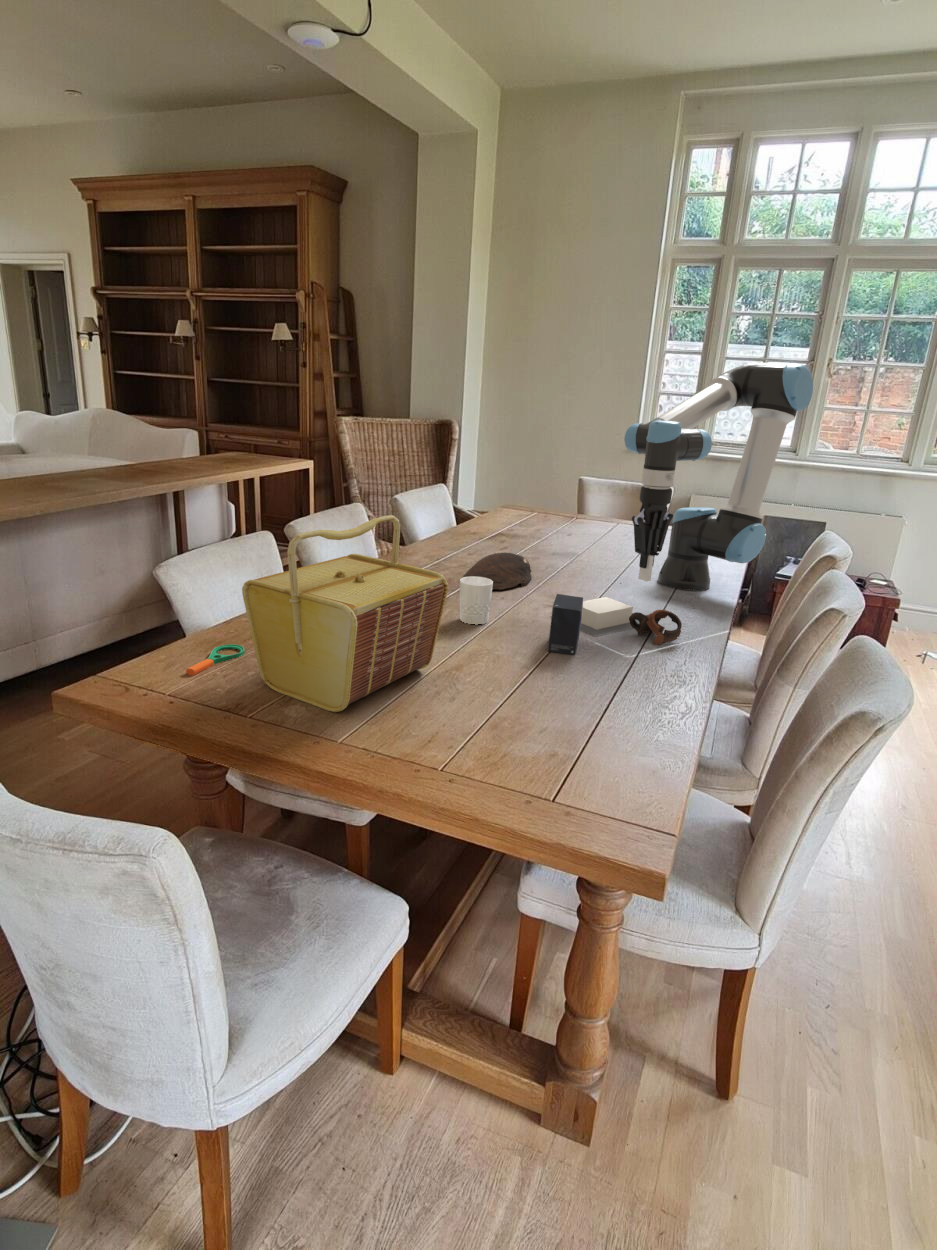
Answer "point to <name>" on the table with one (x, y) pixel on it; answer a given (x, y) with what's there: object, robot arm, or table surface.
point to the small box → (565, 624)
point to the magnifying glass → (215, 658)
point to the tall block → (605, 613)
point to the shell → (502, 570)
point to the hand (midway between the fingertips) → (644, 579)
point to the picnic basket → (343, 622)
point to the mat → (605, 629)
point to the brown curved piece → (656, 625)
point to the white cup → (475, 599)
